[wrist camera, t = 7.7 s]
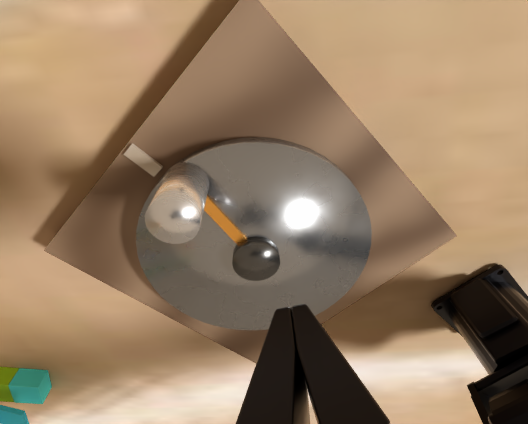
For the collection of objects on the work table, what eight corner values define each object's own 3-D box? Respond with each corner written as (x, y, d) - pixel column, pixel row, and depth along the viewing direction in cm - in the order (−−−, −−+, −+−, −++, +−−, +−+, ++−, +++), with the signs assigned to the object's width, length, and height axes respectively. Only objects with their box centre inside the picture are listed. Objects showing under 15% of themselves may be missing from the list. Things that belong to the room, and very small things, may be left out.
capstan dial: (400, 261, 22) (436, 318, 18) (235, 343, 26) (233, 405, 22) (287, 75, 15) (303, 96, 11) (86, 225, 19) (42, 282, 15)
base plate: (445, 223, 23) (458, 237, 21) (258, 350, 30) (258, 366, 28) (248, -9, 15) (248, -13, 14) (55, 237, 22) (41, 252, 20)
